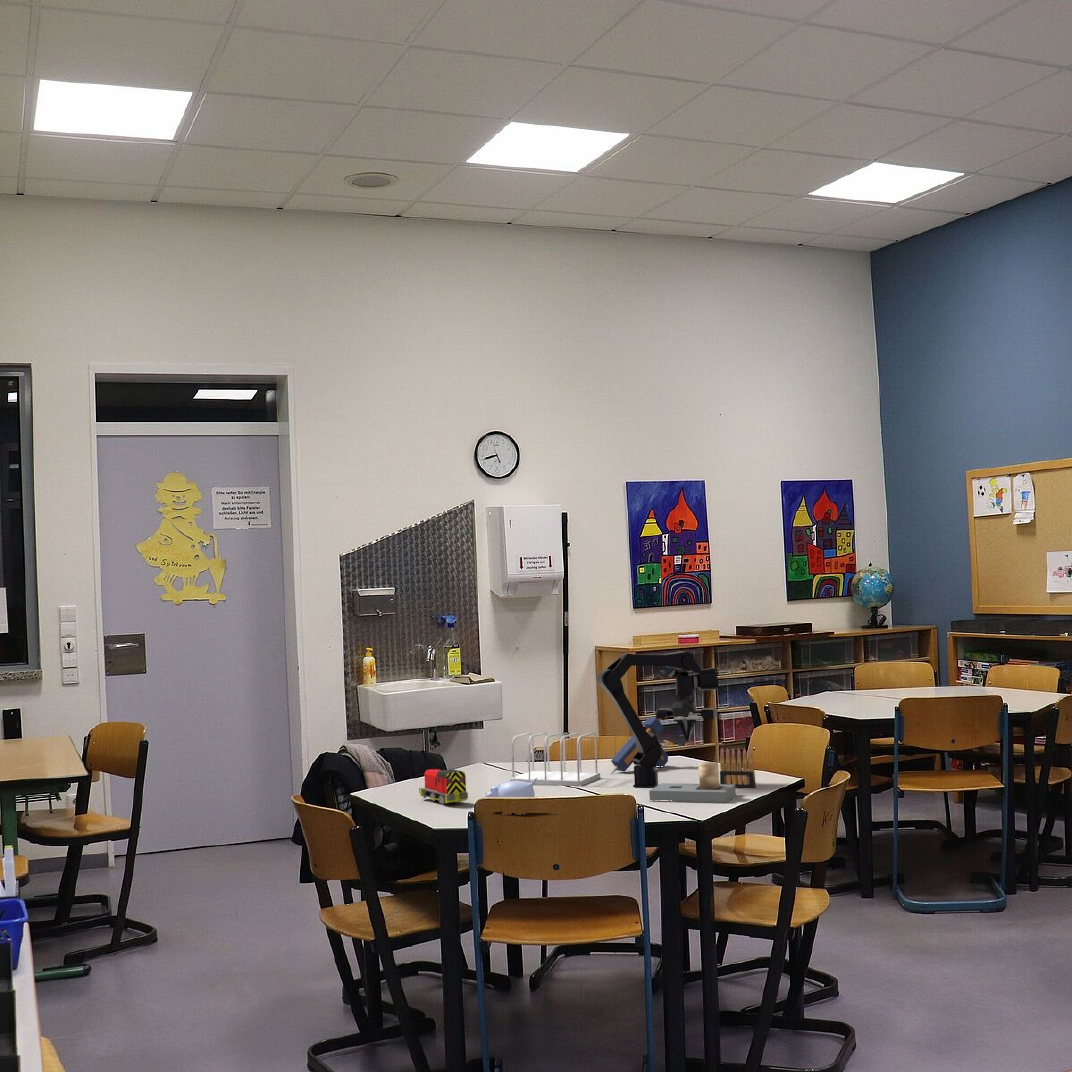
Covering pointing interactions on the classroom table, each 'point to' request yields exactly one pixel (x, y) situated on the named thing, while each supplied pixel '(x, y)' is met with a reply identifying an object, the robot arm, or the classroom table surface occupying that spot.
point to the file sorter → (560, 776)
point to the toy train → (444, 785)
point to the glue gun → (629, 749)
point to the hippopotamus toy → (512, 789)
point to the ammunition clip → (737, 769)
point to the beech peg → (709, 776)
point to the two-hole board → (692, 793)
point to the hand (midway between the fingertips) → (687, 741)
